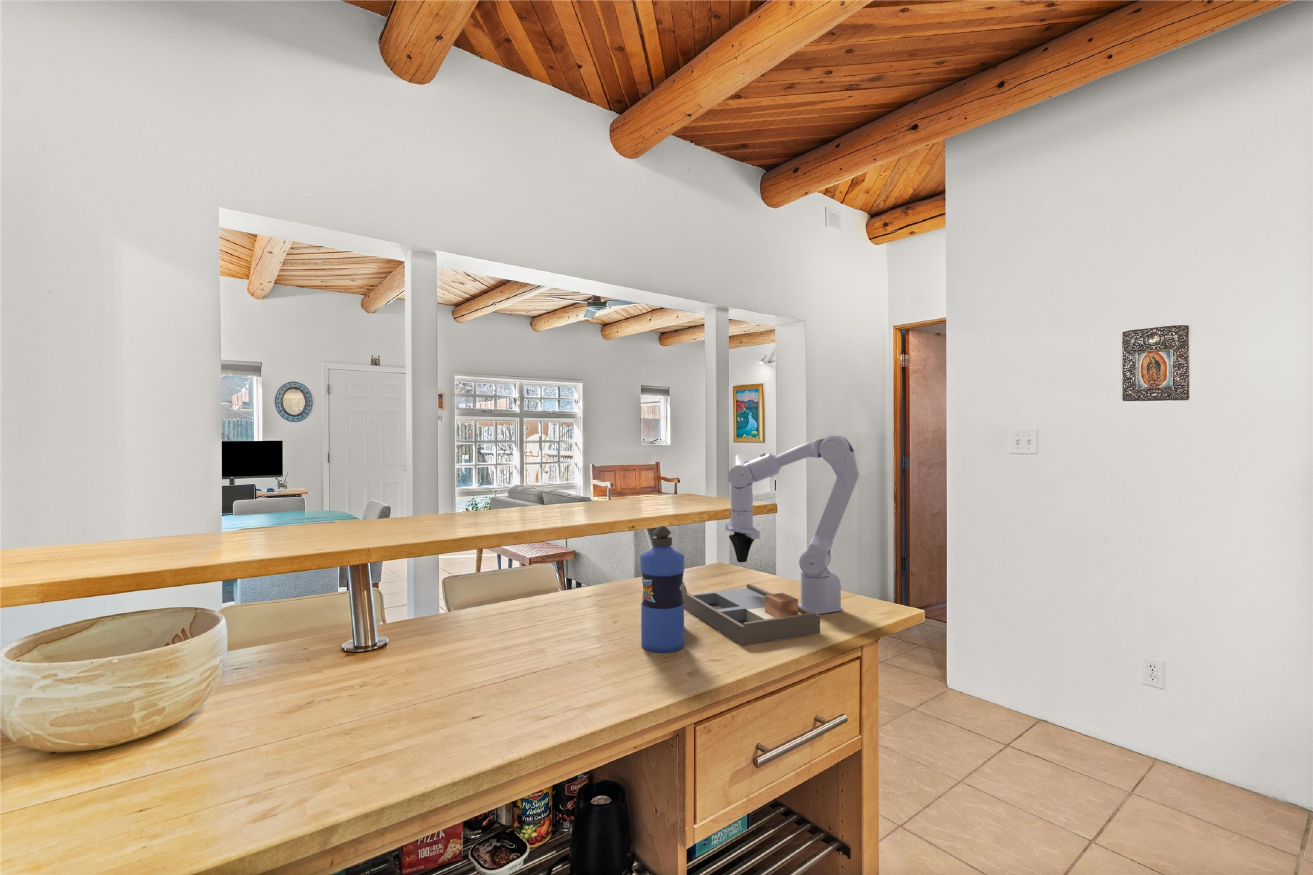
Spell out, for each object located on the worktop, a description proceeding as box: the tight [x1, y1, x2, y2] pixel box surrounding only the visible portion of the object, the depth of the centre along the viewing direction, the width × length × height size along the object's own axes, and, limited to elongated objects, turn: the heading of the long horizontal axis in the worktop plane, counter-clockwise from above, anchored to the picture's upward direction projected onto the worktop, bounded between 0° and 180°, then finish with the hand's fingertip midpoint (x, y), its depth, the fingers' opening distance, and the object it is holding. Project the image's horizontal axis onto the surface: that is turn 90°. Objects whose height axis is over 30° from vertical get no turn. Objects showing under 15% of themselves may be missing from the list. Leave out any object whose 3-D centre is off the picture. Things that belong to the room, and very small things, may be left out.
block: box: [765, 592, 799, 618], centre depth 138 cm, size 5×6×4 cm
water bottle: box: [639, 526, 685, 654], centre depth 127 cm, size 9×9×25 cm
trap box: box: [684, 583, 821, 647], centre depth 144 cm, size 20×30×4 cm, turn 22°
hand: (741, 561), depth 160 cm, fingers closed
